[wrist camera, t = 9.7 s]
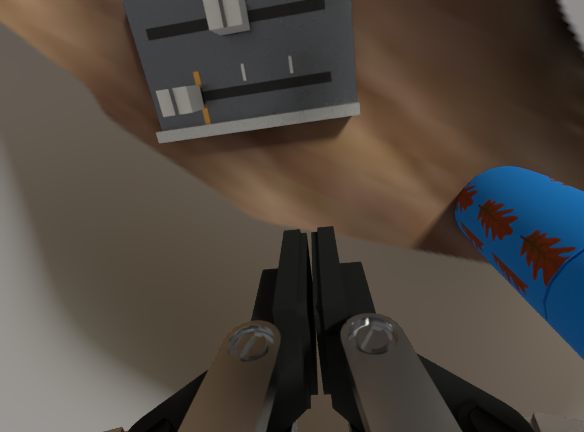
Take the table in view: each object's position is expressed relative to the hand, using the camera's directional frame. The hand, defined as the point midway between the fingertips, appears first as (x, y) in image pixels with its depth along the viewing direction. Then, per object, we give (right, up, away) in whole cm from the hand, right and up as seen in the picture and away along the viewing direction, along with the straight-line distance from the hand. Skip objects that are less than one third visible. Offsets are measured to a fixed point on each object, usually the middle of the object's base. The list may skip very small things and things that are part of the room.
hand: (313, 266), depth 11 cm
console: (-5, +19, +23) cm, 30 cm away
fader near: (-7, +21, +20) cm, 30 cm away
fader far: (-12, +14, +23) cm, 30 cm away
